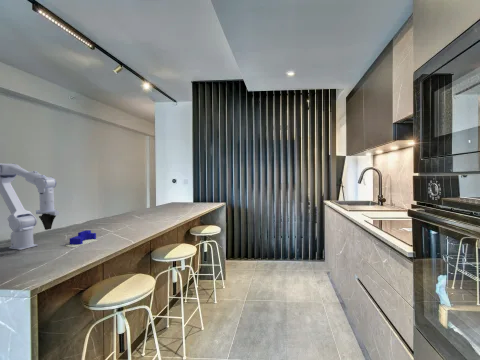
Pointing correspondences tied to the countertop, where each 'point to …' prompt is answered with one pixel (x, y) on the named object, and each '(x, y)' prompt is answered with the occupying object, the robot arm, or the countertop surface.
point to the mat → (82, 244)
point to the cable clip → (82, 237)
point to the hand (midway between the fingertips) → (48, 229)
